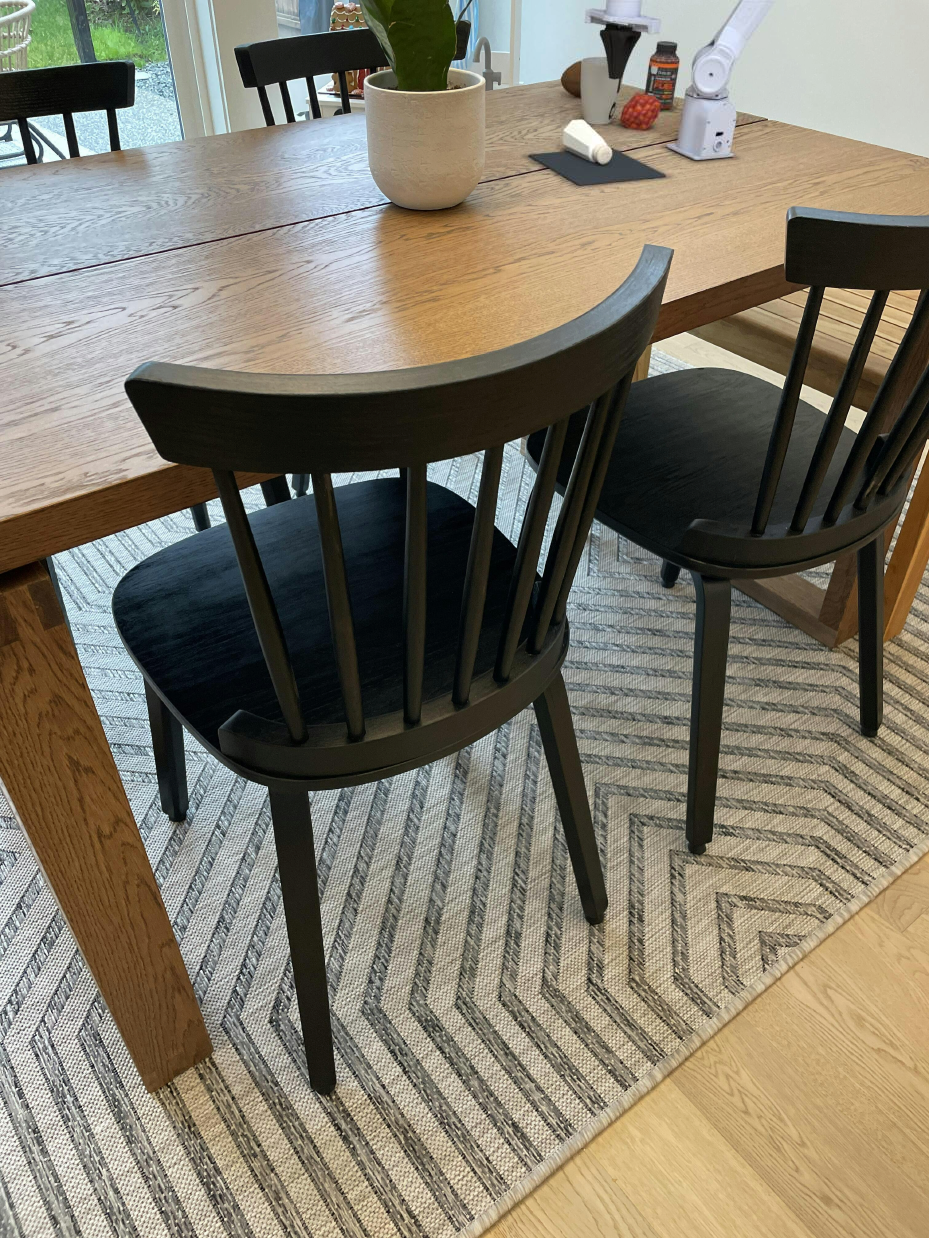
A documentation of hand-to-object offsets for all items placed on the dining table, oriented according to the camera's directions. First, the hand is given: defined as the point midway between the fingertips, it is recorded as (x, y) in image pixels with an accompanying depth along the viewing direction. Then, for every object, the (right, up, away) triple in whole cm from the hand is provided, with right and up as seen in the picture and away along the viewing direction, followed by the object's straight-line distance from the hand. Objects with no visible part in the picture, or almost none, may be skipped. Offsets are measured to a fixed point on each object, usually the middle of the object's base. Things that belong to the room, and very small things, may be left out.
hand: (615, 78), depth 157 cm
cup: (0, +3, +20) cm, 21 cm away
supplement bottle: (+14, +12, +31) cm, 36 cm away
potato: (0, +17, +36) cm, 40 cm away
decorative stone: (+7, 0, +17) cm, 18 cm away
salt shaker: (-7, -9, +1) cm, 11 cm away
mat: (-4, -17, -4) cm, 18 cm away
